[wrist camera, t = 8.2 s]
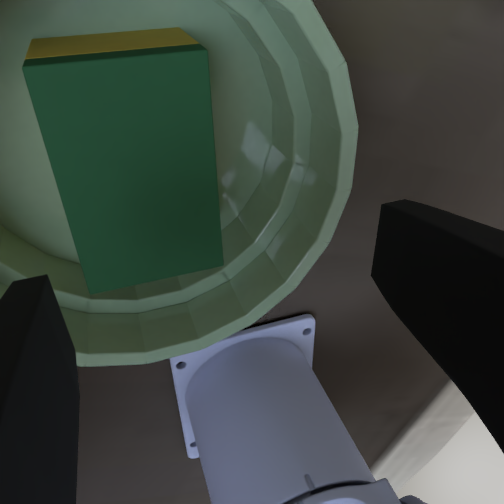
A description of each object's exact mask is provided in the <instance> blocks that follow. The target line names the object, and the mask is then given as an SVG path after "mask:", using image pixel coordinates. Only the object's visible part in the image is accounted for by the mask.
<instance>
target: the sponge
mask: <svg viewBox="0 0 504 504" xmlns="http://www.w3.org/2000/svg"><path fill="white" fill-rule="evenodd" d="M22 71H23V74H24V78H25V81H26V84H27V88H28V91H29V94H30V98H31V101H32V104H33V108H34V111H35V114H36V118H37V121H38V124H39V128H40V131H41V134H42V138H43V141H44V144H45V148H46V151H47V154H48V158H49V161H50V164H51V168H52V171H53V174H54V178H55V181H56V184H57V188H58V191H59V194H60V198H61V201H62V204H63V208H64V211H65V214H66V218H67V221H68V224H69V228H70V231H71V234H72V238H73V241H74V244H75V248H76V251H77V254H78V258H79V261H80V264H81V268H82V271H83V274H84V278H85V281H86V284H87V288H88V291H89V294H90V295H92V294H97V293H101V292H106V291H110V290H115V289H119V288H124V287H129V286H133V285H138V284H142V283H147V282H152V281H156V280H161V279H165V278H170V277H175V276H179V275H184V274H188V273H193V272H198V271H202V270H207V269H211V268H216V267H220V266H223V265H224V261H223V247H222V234H221V220H220V207H219V193H218V180H217V167H216V153H215V140H214V126H213V113H212V99H211V86H210V72H209V59H208V50H207V49H206V48H205V47H203V46H202V45H201V44H199V43H198V42H197V41H196V40H195V39H193V38H192V37H191V36H189V35H188V34H187V33H186V32H184V31H183V30H182V29H181V28H179V27H175V28H162V29H150V30H137V31H125V32H112V33H100V34H87V35H75V36H62V37H50V38H38V39H31V42H30V45H29V48H28V51H27V54H26V57H25V60H24V63H23V66H22Z"/></svg>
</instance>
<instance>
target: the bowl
mask: <svg viewBox="0 0 504 504" xmlns="http://www.w3.org/2000/svg"><path fill="white" fill-rule="evenodd" d="M175 27H179V28H181V29H182V30H183V31H184V32H186V33H187V34H188V35H189V36H191V37H192V38H193V39H195V40H196V41H197V42H198V43H199V44H201V45H202V46H203V47H205V48H206V49H207V50H208V59H209V72H210V86H211V99H212V113H213V126H214V140H215V153H216V167H217V180H218V193H219V207H220V220H221V234H222V247H223V261H224V265H223V266H220V267H216V268H211V269H207V270H202V271H198V272H193V273H188V274H184V275H179V276H175V277H170V278H165V279H161V280H156V281H152V282H147V283H142V284H138V285H133V286H129V287H124V288H119V289H115V290H110V291H106V292H101V293H97V294H92V295H90V294H89V291H88V288H87V284H86V281H85V278H84V274H83V271H82V268H81V264H80V261H79V258H78V254H77V251H76V248H75V244H74V241H73V238H72V234H71V231H70V228H69V224H68V221H67V218H66V214H65V211H64V208H63V204H62V201H61V198H60V194H59V191H58V188H57V184H56V181H55V178H54V174H53V171H52V168H51V164H50V161H49V158H48V154H47V151H46V148H45V144H44V141H43V138H42V134H41V131H40V128H39V124H38V121H37V118H36V114H35V111H34V108H33V104H32V101H31V98H30V94H29V91H28V88H27V84H26V81H25V78H24V74H23V71H22V66H23V63H24V60H25V57H26V54H27V51H28V48H29V45H30V42H31V39H38V38H50V37H62V36H75V35H87V34H100V33H112V32H125V31H137V30H150V29H162V28H175ZM358 128H359V126H358V121H357V115H356V110H355V105H354V100H353V94H352V89H351V84H350V79H349V73H348V68H347V63H346V61H345V59H344V57H343V55H342V53H341V51H340V49H339V48H338V46H337V44H336V42H335V41H334V39H333V37H332V35H331V33H330V32H329V30H328V28H327V26H326V25H325V23H324V21H323V19H322V17H321V16H320V14H319V12H318V10H317V9H316V7H315V5H314V3H313V1H312V0H0V299H1V297H2V296H3V294H4V293H5V292H6V290H7V289H8V287H9V286H10V285H11V283H12V282H13V281H17V280H21V279H26V278H31V277H36V276H41V275H45V274H48V277H49V280H50V283H51V285H52V288H53V291H54V293H55V296H56V299H57V301H58V304H59V307H60V310H61V312H62V315H63V318H64V320H65V323H66V326H67V329H68V331H69V334H70V337H71V339H72V342H73V345H74V347H75V352H76V362H77V366H80V367H84V366H85V367H94V366H118V365H143V364H145V363H146V364H150V363H153V362H157V361H161V360H165V359H169V358H172V357H176V356H180V355H184V354H188V353H192V352H195V351H199V350H202V349H205V348H207V347H209V346H211V345H213V344H215V343H217V342H219V341H221V340H222V339H224V338H226V337H228V336H230V335H232V334H234V333H236V332H238V331H240V330H242V329H244V328H246V327H248V326H250V325H252V323H255V322H256V321H257V320H258V319H260V318H261V317H262V316H263V315H264V314H266V313H267V312H268V311H269V310H271V309H272V308H273V307H274V306H275V305H277V304H278V303H279V302H280V301H281V300H283V299H284V298H285V297H286V296H287V295H289V294H290V293H291V292H292V291H293V290H295V288H296V287H297V286H298V285H299V283H300V282H301V281H302V279H303V278H304V277H305V275H306V274H307V273H308V271H309V270H310V269H311V268H312V266H313V265H314V264H315V262H316V261H317V260H318V258H319V257H320V256H321V254H322V253H323V252H324V250H325V249H326V248H327V246H328V245H329V243H330V241H331V239H332V236H333V234H334V231H335V229H336V227H337V224H338V222H339V219H340V217H341V215H342V212H343V210H344V207H345V205H346V202H347V200H348V198H349V195H350V193H351V189H352V182H353V173H354V165H355V156H356V147H357V138H358Z"/></svg>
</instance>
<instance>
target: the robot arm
mask: <svg viewBox="0 0 504 504" xmlns="http://www.w3.org/2000/svg"><path fill="white" fill-rule="evenodd" d="M371 276H372V278H373V280H374V281H375V283H376V285H377V286H378V288H379V290H380V291H381V293H382V295H383V296H384V298H385V299H386V301H387V302H388V304H389V305H390V307H391V309H392V310H393V311H394V312H395V314H396V315H397V316H398V317H399V319H400V320H401V321H402V322H403V323H404V325H405V326H406V327H407V328H408V329H409V331H410V332H411V333H412V334H413V335H414V336H415V338H416V339H417V340H418V341H419V342H420V344H421V345H422V346H423V347H424V348H425V349H426V351H427V352H428V353H429V354H430V355H431V356H432V358H433V359H434V360H435V361H436V362H437V363H438V365H439V366H440V367H441V368H442V369H443V370H444V372H445V373H446V374H447V375H448V376H449V377H450V379H451V380H452V381H453V382H454V383H455V385H456V386H457V387H458V388H459V390H460V391H461V392H462V394H463V395H464V396H465V397H466V399H467V400H468V401H469V403H470V404H471V406H472V407H473V409H474V410H475V412H476V413H477V414H478V416H479V417H480V419H481V420H482V422H483V423H484V424H485V426H486V427H487V429H488V430H489V432H490V433H491V435H492V436H493V437H494V439H495V441H496V442H497V444H498V445H499V447H500V448H501V450H502V452H503V453H504V231H502V230H499V229H496V228H493V227H490V226H487V225H484V224H481V223H478V222H476V221H473V220H470V219H467V218H464V217H461V216H458V215H455V214H452V213H450V212H447V211H444V210H441V209H438V208H434V207H431V206H428V205H425V204H422V203H418V202H414V201H410V200H405V199H404V200H399V201H395V202H390V203H385V204H382V205H381V211H380V218H379V225H378V232H377V238H376V245H375V252H374V258H373V265H372V272H371ZM305 329H306V330H305ZM314 335H315V319H314V318H313V316H312V315H311V314H304V315H300V316H296V317H292V318H288V319H284V320H281V321H277V322H273V323H269V324H265V325H261V326H257V327H253V328H249V329H246V330H242V331H238V332H236V333H234V334H232V335H230V336H228V337H226V338H224V339H222V340H221V341H219V342H217V343H215V344H213V345H211V346H209V347H207V348H205V349H202V350H199V351H195V352H192V353H188V354H184V355H180V356H176V357H172V358H169V359H170V365H171V370H172V375H173V381H174V386H175V391H176V397H177V402H178V407H179V413H180V418H181V423H182V429H183V434H184V439H185V445H186V450H187V455H188V457H189V458H198V457H200V461H201V464H202V468H203V472H204V476H205V480H206V484H207V488H208V492H209V495H210V499H211V503H212V504H427V503H425V502H423V501H421V500H420V499H419V498H417V497H414V496H412V495H409V496H405V497H403V498H401V499H398V497H397V495H396V494H395V492H394V490H393V488H392V487H391V485H390V483H389V482H388V480H387V479H386V478H383V479H381V480H378V481H376V480H375V478H374V477H373V475H372V473H371V471H370V470H369V468H368V466H367V464H366V463H365V461H364V459H363V457H362V456H361V454H360V452H359V450H358V449H357V447H356V445H355V443H354V442H353V440H352V438H351V436H350V435H349V433H348V431H347V429H346V428H345V426H344V424H343V422H342V421H341V419H340V417H339V415H338V414H337V412H336V410H335V408H334V407H333V405H332V403H331V401H330V400H329V398H328V396H327V394H326V393H325V391H324V389H323V387H322V386H321V384H320V382H319V380H318V379H317V377H316V375H315V373H314V372H313V370H312V361H313V348H314ZM179 362H182V363H179ZM79 399H80V394H79V382H78V371H77V362H76V352H75V347H74V345H73V342H72V339H71V337H70V334H69V331H68V329H67V326H66V323H65V320H64V318H63V315H62V312H61V310H60V307H59V304H58V301H57V299H56V296H55V293H54V291H53V288H52V285H51V283H50V280H49V277H48V274H45V275H41V276H36V277H31V278H26V279H21V280H17V281H13V282H12V283H11V285H10V286H9V287H8V289H7V290H6V292H5V293H4V294H3V296H2V297H1V299H0V504H76V486H77V459H78V432H79Z"/></svg>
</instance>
